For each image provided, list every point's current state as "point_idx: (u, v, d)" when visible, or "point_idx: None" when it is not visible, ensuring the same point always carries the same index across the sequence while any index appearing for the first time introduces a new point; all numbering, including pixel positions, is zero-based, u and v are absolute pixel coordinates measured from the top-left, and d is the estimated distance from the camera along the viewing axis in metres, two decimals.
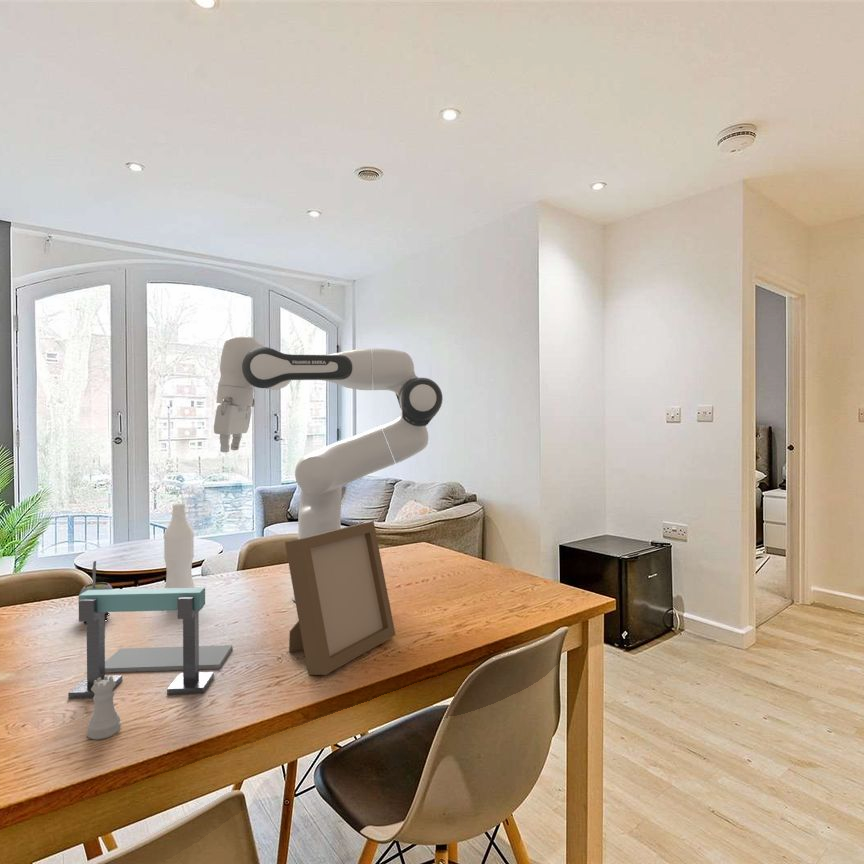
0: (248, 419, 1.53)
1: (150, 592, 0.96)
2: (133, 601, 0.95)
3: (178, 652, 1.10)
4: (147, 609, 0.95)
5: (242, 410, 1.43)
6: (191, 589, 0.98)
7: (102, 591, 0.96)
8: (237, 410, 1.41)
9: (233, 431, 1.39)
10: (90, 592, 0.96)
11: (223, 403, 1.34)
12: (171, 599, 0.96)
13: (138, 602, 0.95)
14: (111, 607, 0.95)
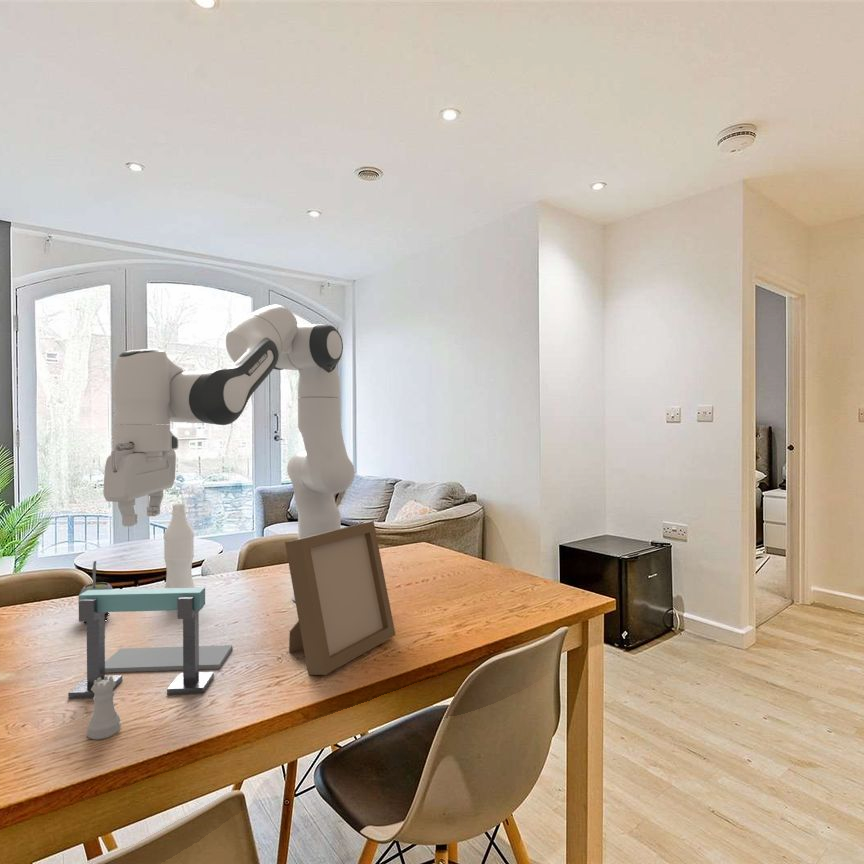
0: (172, 467, 1.05)
1: (150, 592, 0.96)
2: (133, 601, 0.95)
3: (178, 652, 1.10)
4: (147, 609, 0.95)
5: (153, 458, 0.95)
6: (191, 589, 0.98)
7: (102, 591, 0.96)
8: (144, 460, 0.93)
9: (139, 493, 0.91)
10: (90, 592, 0.96)
11: (114, 454, 0.86)
12: (171, 599, 0.96)
13: (138, 602, 0.95)
14: (111, 607, 0.95)
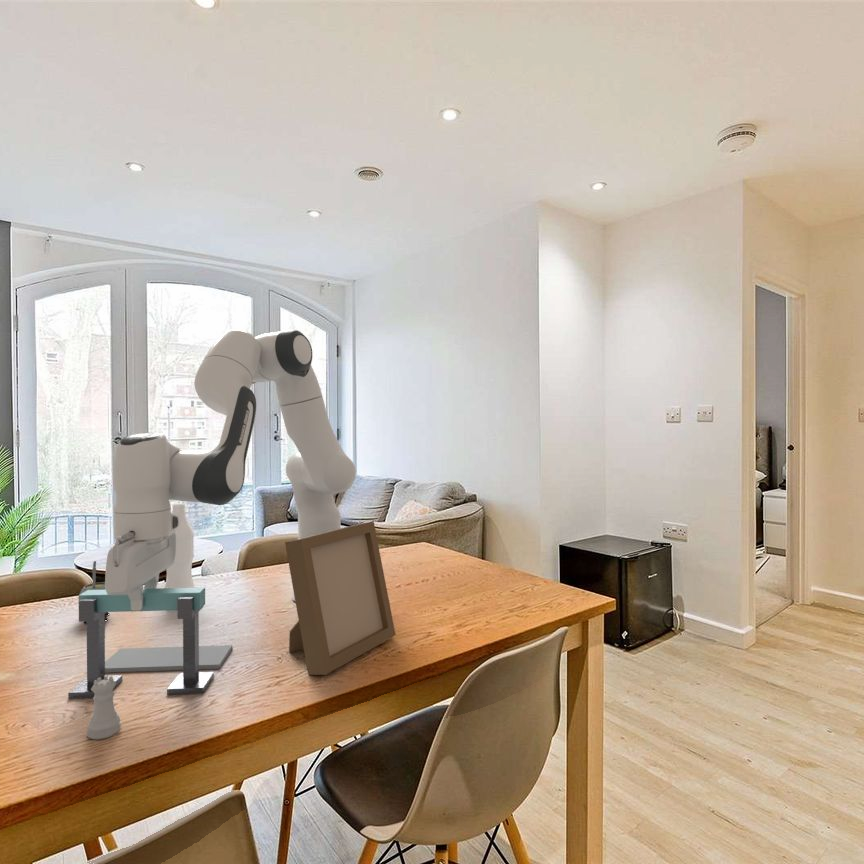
0: (173, 545, 1.05)
1: (150, 592, 0.96)
2: None
3: (178, 652, 1.10)
4: (147, 609, 0.95)
5: (154, 544, 0.95)
6: (191, 589, 0.98)
7: (102, 591, 0.96)
8: (145, 547, 0.93)
9: (141, 582, 0.92)
10: (90, 592, 0.96)
11: (115, 549, 0.86)
12: (171, 599, 0.96)
13: None
14: (111, 607, 0.95)
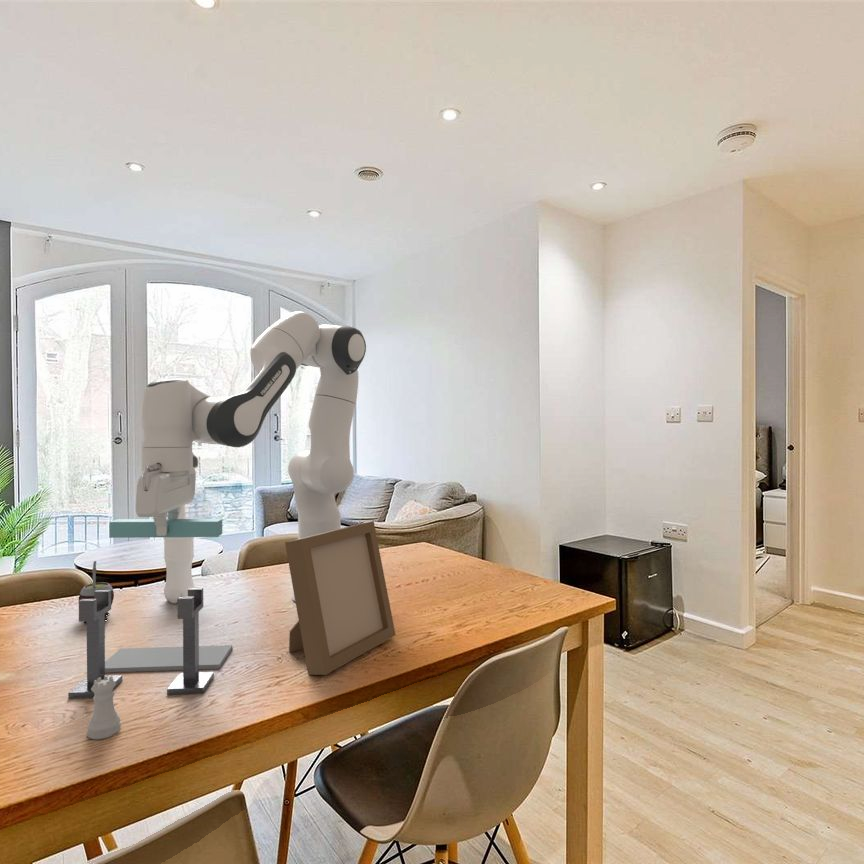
0: (192, 484, 1.16)
1: (173, 521, 1.07)
2: None
3: (178, 652, 1.10)
4: (170, 535, 1.06)
5: (178, 477, 1.06)
6: (210, 519, 1.08)
7: (130, 520, 1.07)
8: (170, 479, 1.04)
9: (166, 509, 1.02)
10: (119, 520, 1.07)
11: (145, 475, 0.97)
12: (192, 527, 1.06)
13: None
14: (139, 533, 1.05)
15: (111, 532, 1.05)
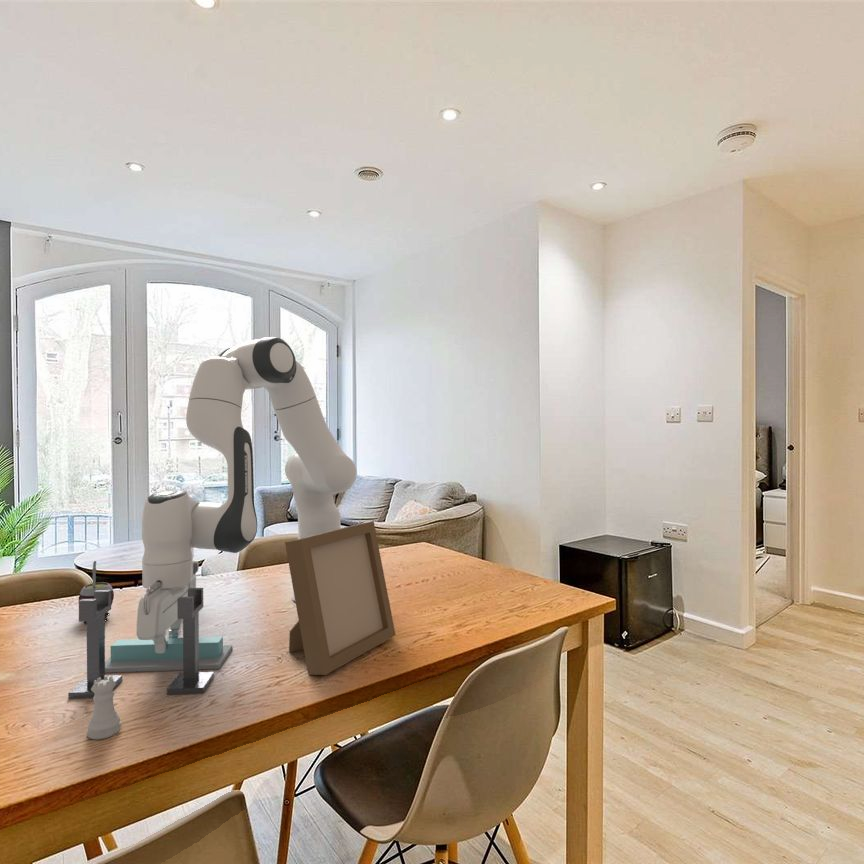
0: None
1: (174, 642, 1.07)
2: None
3: None
4: (171, 657, 1.07)
5: (178, 591, 1.06)
6: (210, 638, 1.09)
7: (131, 641, 1.08)
8: (170, 595, 1.04)
9: (167, 626, 1.03)
10: (120, 642, 1.07)
11: (146, 599, 0.97)
12: None
13: None
14: (140, 656, 1.06)
15: (112, 656, 1.06)
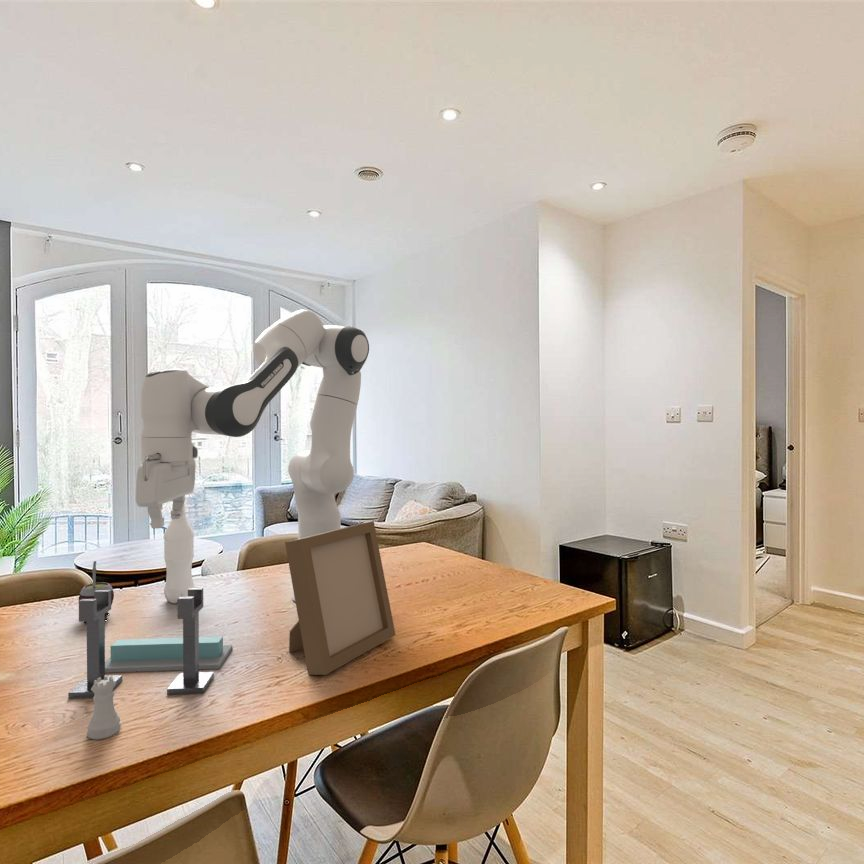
0: (192, 474, 1.16)
1: (174, 642, 1.07)
2: (159, 650, 1.06)
3: None
4: (171, 657, 1.07)
5: (177, 467, 1.06)
6: (210, 638, 1.09)
7: (131, 641, 1.08)
8: (169, 469, 1.04)
9: (166, 498, 1.02)
10: (120, 642, 1.07)
11: (144, 464, 0.97)
12: None
13: (163, 651, 1.06)
14: (140, 656, 1.06)
15: (112, 656, 1.06)
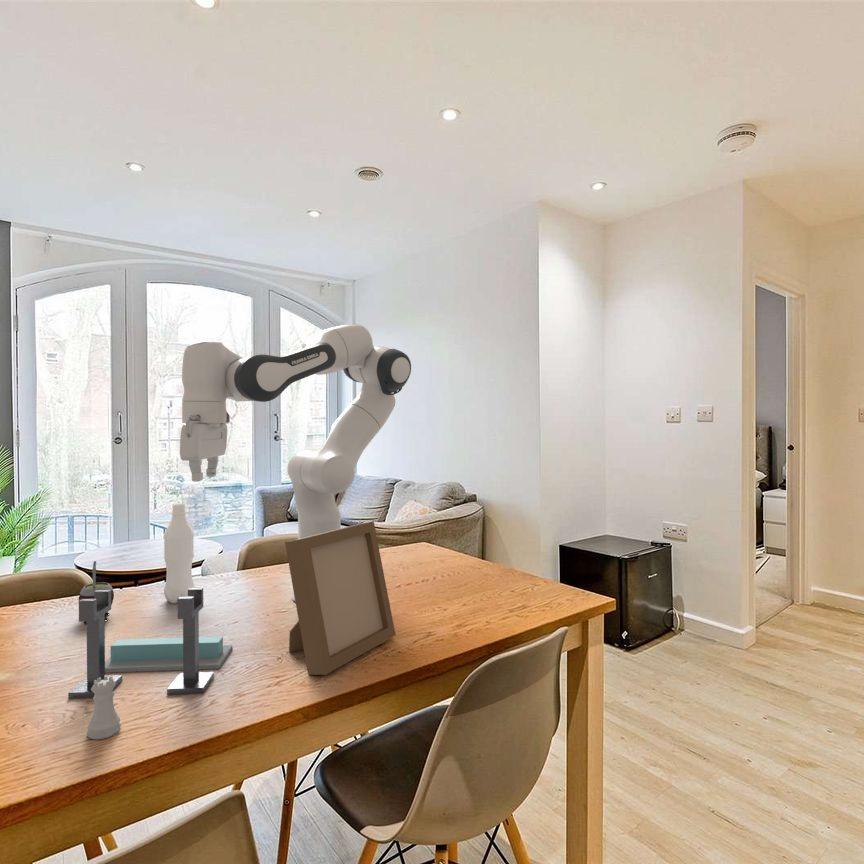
0: (224, 438, 1.29)
1: (174, 642, 1.07)
2: (159, 650, 1.06)
3: None
4: (171, 657, 1.07)
5: (214, 429, 1.19)
6: (210, 638, 1.09)
7: (131, 641, 1.08)
8: (208, 429, 1.17)
9: (205, 455, 1.15)
10: (120, 642, 1.07)
11: (188, 423, 1.10)
12: None
13: (163, 651, 1.06)
14: (140, 656, 1.06)
15: (112, 656, 1.06)
